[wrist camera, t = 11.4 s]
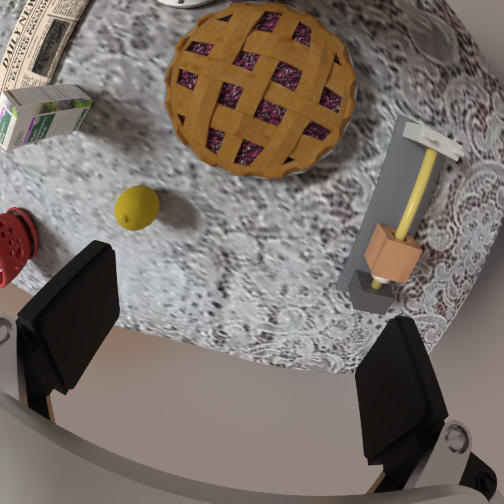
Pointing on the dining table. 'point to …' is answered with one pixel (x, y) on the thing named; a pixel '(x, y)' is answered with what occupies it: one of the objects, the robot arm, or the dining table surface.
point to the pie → (260, 90)
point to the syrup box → (40, 113)
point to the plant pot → (15, 243)
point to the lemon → (137, 207)
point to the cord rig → (396, 206)
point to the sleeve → (391, 254)
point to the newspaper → (38, 42)
